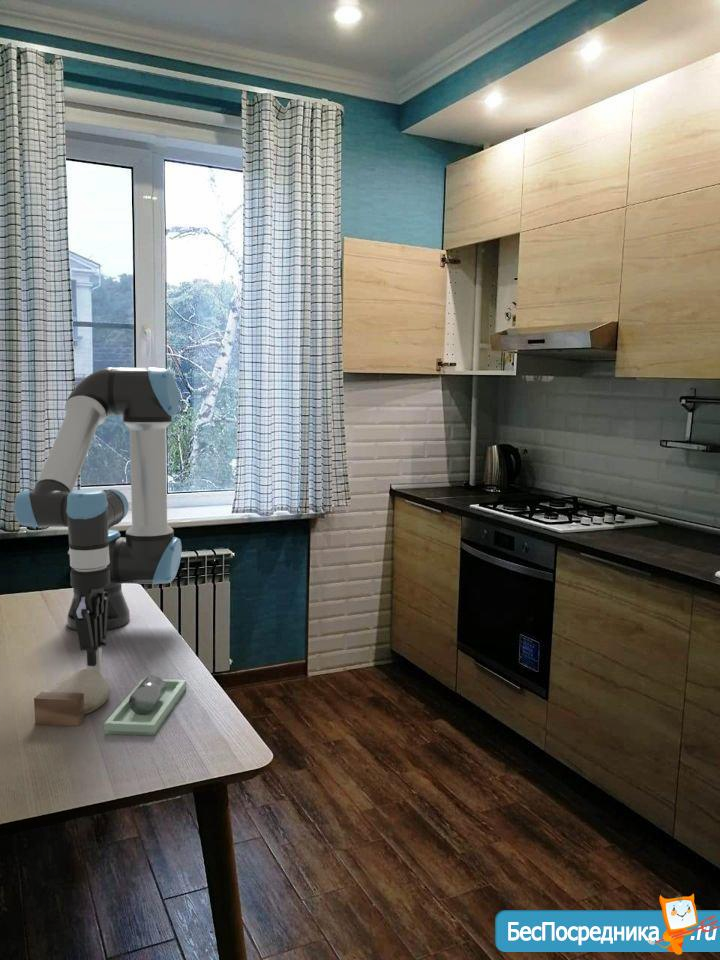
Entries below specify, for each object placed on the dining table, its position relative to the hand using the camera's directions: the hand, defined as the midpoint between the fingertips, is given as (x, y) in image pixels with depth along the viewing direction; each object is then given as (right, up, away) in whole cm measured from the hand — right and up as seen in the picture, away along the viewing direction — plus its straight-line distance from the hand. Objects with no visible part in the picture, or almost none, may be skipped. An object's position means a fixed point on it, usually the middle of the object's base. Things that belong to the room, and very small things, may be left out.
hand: (95, 678), depth 158 cm
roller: (+14, -3, -11) cm, 18 cm away
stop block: (-1, -4, -16) cm, 16 cm away
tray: (+14, -3, -11) cm, 18 cm away
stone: (0, -3, -8) cm, 9 cm away
